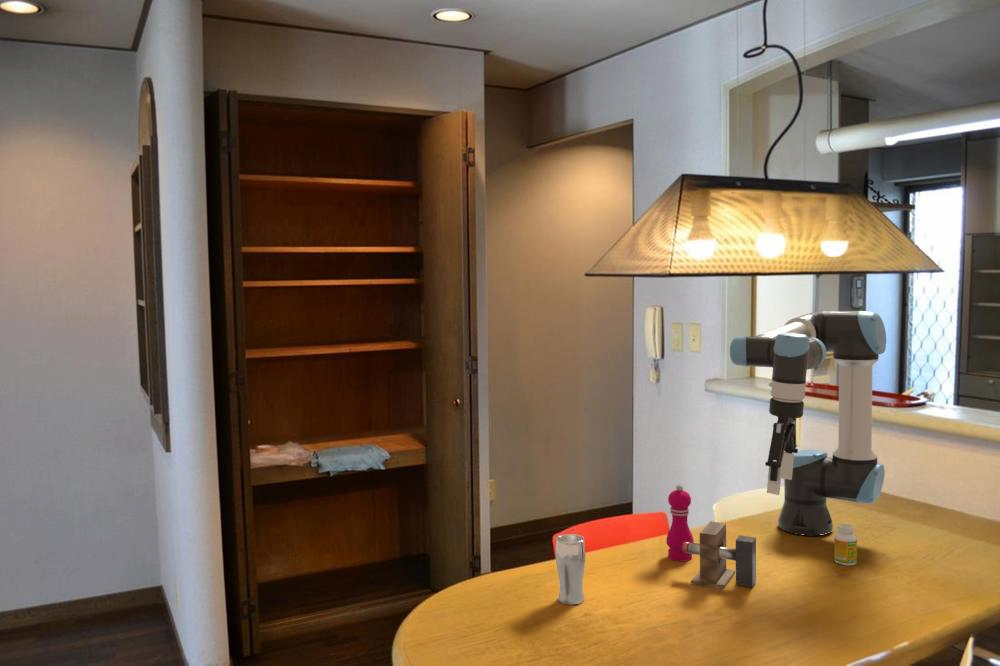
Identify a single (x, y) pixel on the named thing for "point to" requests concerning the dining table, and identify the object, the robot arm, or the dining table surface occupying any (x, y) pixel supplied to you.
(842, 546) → the supplement bottle
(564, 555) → the beer glass
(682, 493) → the pepper mill
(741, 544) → the metal rod with plate
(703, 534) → the wooden arch frame
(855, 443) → the robot arm
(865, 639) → the dining table surface
